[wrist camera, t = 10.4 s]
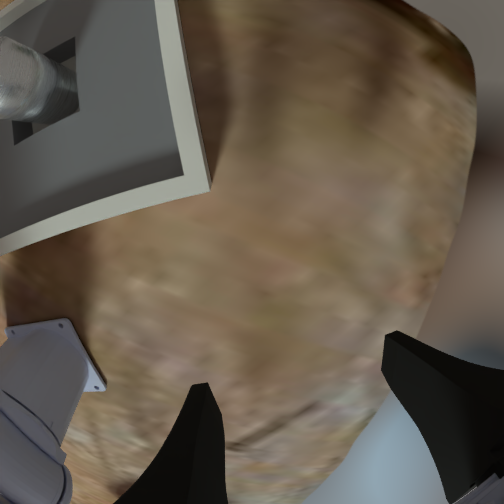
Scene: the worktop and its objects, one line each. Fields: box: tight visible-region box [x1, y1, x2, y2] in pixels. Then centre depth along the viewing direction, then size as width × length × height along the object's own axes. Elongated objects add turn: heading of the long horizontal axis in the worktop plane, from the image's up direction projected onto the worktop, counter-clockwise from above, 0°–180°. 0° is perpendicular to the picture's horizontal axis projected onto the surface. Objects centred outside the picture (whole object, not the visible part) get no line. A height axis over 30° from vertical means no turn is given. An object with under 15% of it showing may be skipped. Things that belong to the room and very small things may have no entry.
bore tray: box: [0, 0, 212, 256], centre depth 12 cm, size 18×18×5 cm
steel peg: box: [0, 36, 79, 125], centre depth 9 cm, size 4×4×8 cm
